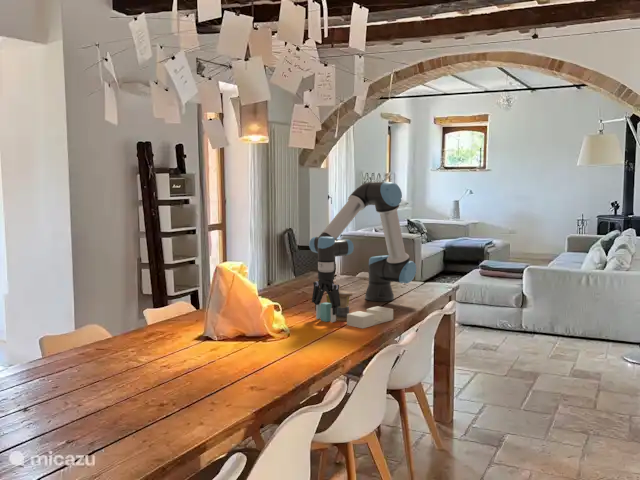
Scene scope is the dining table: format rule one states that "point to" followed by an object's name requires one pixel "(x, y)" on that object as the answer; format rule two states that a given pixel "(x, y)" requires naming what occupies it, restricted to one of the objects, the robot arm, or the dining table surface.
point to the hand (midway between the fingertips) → (325, 320)
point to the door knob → (343, 306)
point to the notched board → (370, 317)
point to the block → (326, 311)
